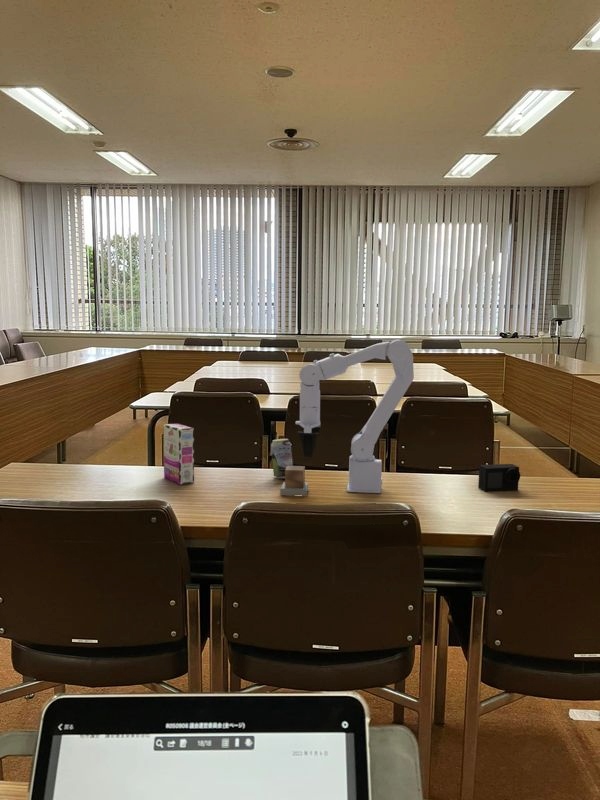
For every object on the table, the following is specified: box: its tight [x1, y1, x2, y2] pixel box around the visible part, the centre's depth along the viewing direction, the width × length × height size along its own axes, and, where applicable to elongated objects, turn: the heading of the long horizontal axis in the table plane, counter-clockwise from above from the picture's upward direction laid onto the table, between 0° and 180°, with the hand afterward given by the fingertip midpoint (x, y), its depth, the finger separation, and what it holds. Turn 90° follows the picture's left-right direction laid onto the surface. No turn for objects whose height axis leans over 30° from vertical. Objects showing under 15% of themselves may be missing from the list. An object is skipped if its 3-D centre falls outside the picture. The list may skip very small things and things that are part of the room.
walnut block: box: [284, 465, 306, 488], centre depth 180 cm, size 5×5×5 cm
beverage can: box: [270, 438, 294, 479], centre depth 196 cm, size 6×7×12 cm
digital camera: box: [477, 463, 521, 493], centre depth 185 cm, size 10×5×7 cm, turn 102°
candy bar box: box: [163, 423, 195, 486], centre depth 191 cm, size 11×5×16 cm, turn 36°
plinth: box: [280, 481, 309, 497], centre depth 180 cm, size 7×7×2 cm
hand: (309, 453), depth 185 cm, fingers open, 7 cm apart
